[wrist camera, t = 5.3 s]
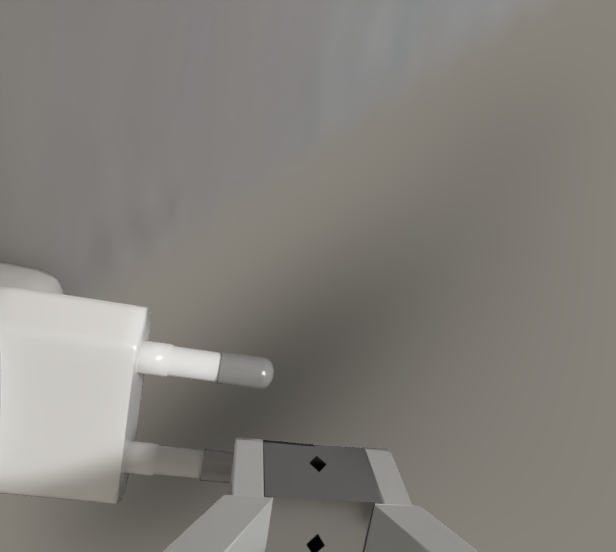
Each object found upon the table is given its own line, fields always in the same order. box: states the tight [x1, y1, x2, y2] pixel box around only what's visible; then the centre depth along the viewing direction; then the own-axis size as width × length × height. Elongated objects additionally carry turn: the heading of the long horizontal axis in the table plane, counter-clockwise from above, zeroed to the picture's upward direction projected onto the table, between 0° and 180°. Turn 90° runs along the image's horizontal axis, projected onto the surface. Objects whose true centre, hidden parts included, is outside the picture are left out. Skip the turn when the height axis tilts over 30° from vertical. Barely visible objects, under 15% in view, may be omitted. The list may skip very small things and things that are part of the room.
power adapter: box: [0, 262, 274, 504], centre depth 11 cm, size 11×5×6 cm, turn 78°
